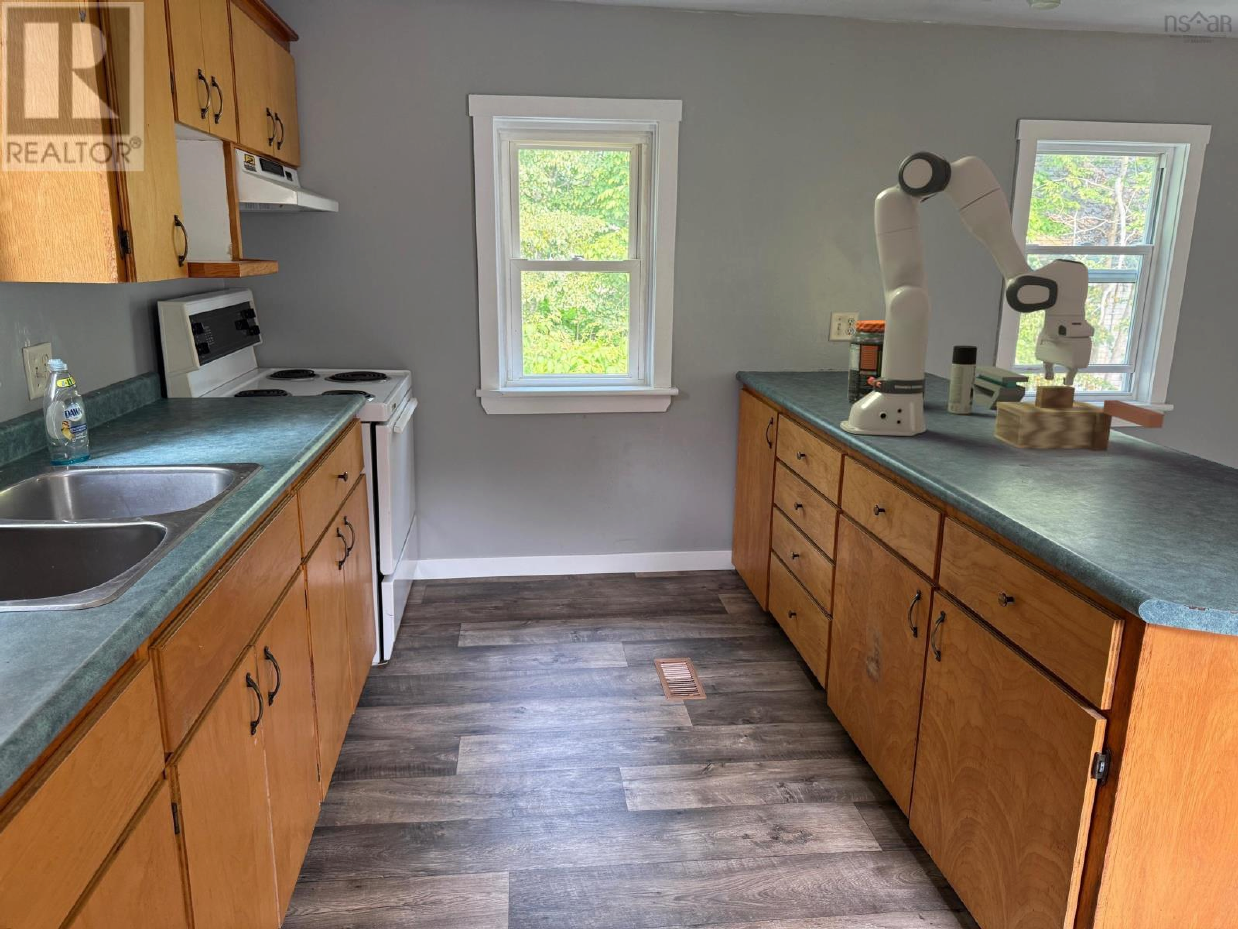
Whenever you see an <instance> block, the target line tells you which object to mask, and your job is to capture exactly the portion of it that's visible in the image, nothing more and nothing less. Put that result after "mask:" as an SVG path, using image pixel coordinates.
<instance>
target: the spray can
mask: <svg viewBox="0 0 1238 929" xmlns="http://www.w3.org/2000/svg"><path fill="white" fill-rule="evenodd" d="M977 353H978V347H977V346H976V345H965V344H964V345H954V346H953V350H952V358H951V360H952V361H951V371H950V372H951V373H950V381H949V382H950V384H949V396H948V406H947V407H948V408H947V411H948V412H947V413H950V414H953V415H971V413H972V411H973V410H972V409H973V402H974V399H973V391H974V380H975V377H976V373H975V370H976V366H977V357H978V356H977V355H978V354H977Z"/></svg>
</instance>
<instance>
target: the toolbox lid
mask: <svg viewBox="0 0 1238 929" xmlns="http://www.w3.org/2000/svg"><path fill="white" fill-rule="evenodd" d="M1075 390H1076V387H1073V386H1067V385H1050V386H1049V385H1037V386H1036V394H1035V401H1020V402H997V405H996V407H999V408H1001V409H1004V410H1006V411H1008V412H1011V413H1013V414H1016V415H1018V416H1021V417H1096V412H1103V408H1104V407H1100V406H1098V405H1095V404H1092V403H1088V402H1085V401H1075V400H1074V398H1075V393H1076V392H1075ZM1073 400H1074V401H1075V402H1073ZM1113 417H1114V416H1112V418H1113ZM1114 418H1115V417H1114Z"/></svg>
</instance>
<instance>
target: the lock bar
mask: <svg viewBox="0 0 1238 929" xmlns="http://www.w3.org/2000/svg"><path fill="white" fill-rule="evenodd" d="M1102 408H1103V413H1105V414H1108V415H1111V416H1114V418H1117V419H1120V420H1123V421H1126V422H1129V423H1133V424H1135V425H1139V426H1142V427H1144V428H1147V429H1162V428H1163V423H1164V416H1165V414H1164V413H1160V412H1157V411H1155V410H1151V409H1148V408H1144V407H1141V406H1138V405H1134V404H1130V403H1127V402H1124V401H1120V400H1117V399H1116V400H1111V399H1110V400H1108V399H1107V400H1104V403H1103V407H1102Z"/></svg>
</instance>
